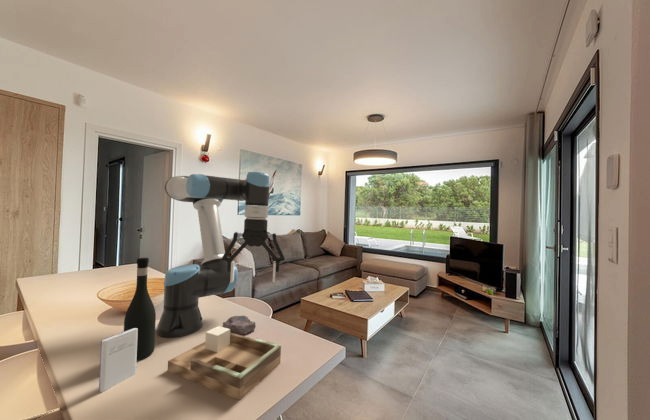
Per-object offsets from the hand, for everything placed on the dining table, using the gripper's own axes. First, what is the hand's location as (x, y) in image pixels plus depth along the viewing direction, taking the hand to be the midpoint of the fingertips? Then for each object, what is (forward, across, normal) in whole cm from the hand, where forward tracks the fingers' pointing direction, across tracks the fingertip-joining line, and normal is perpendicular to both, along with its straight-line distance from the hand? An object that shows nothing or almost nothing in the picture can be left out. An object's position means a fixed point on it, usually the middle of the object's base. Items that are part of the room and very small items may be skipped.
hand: (253, 281), depth 88 cm
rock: (+24, -2, +9) cm, 25 cm away
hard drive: (+22, -32, -14) cm, 41 cm away
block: (+19, -10, -5) cm, 22 cm away
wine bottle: (+23, -33, -1) cm, 40 cm away
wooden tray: (+22, -6, -12) cm, 25 cm away
